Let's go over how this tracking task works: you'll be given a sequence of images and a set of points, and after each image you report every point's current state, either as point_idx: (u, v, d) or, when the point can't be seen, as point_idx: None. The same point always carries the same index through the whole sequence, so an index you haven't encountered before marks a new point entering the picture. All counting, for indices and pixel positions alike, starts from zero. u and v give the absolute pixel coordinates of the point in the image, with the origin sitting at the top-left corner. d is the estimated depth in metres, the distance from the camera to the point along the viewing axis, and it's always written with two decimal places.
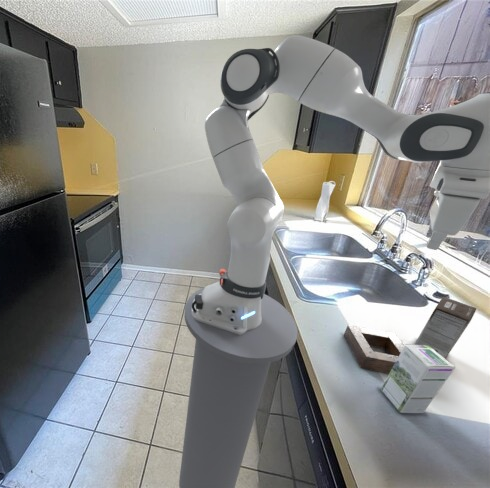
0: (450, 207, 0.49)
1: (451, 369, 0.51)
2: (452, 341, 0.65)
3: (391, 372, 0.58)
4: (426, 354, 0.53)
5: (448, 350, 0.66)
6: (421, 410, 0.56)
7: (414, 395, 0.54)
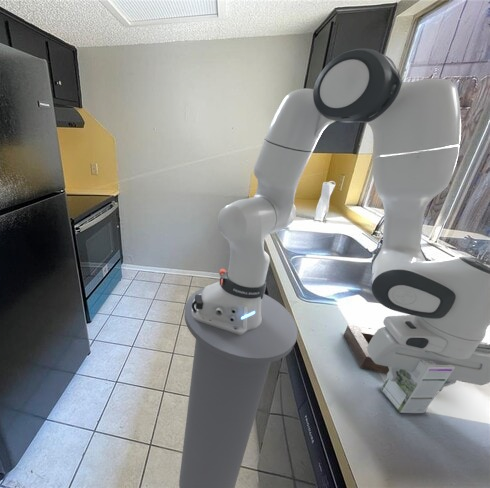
0: (377, 337, 0.55)
1: (451, 369, 0.51)
2: None
3: None
4: None
5: None
6: (421, 410, 0.56)
7: (414, 395, 0.54)
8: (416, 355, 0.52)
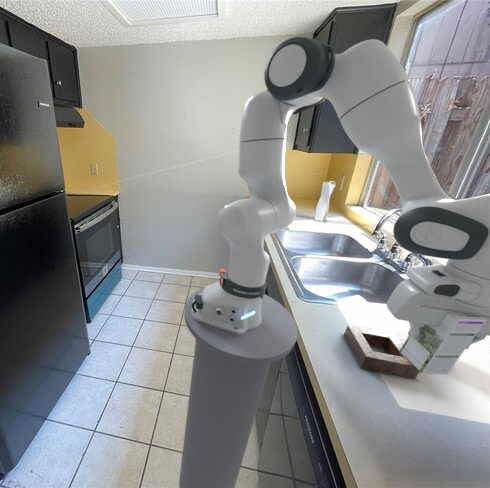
0: (400, 290, 0.50)
1: (483, 322, 0.46)
2: None
3: None
4: None
5: None
6: (445, 371, 0.51)
7: (439, 352, 0.49)
8: (443, 307, 0.47)
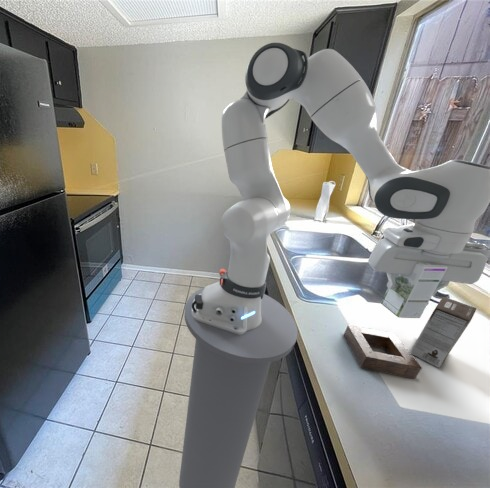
0: (378, 247, 0.61)
1: (444, 269, 0.56)
2: (452, 341, 0.64)
3: None
4: None
5: (448, 350, 0.66)
6: (418, 315, 0.62)
7: (411, 297, 0.59)
8: (412, 258, 0.58)
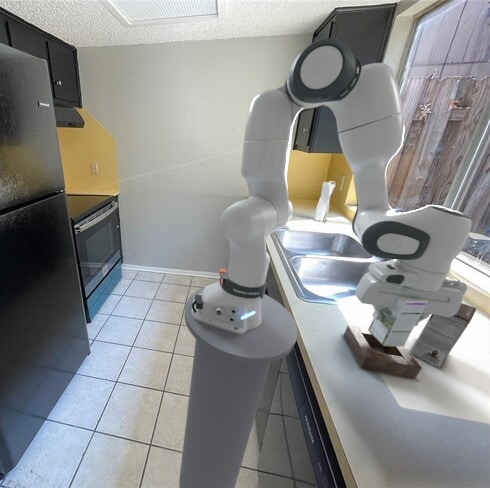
0: (363, 280, 0.65)
1: (425, 303, 0.60)
2: (452, 341, 0.64)
3: None
4: None
5: (448, 350, 0.66)
6: (402, 343, 0.66)
7: (394, 328, 0.64)
8: (395, 292, 0.62)
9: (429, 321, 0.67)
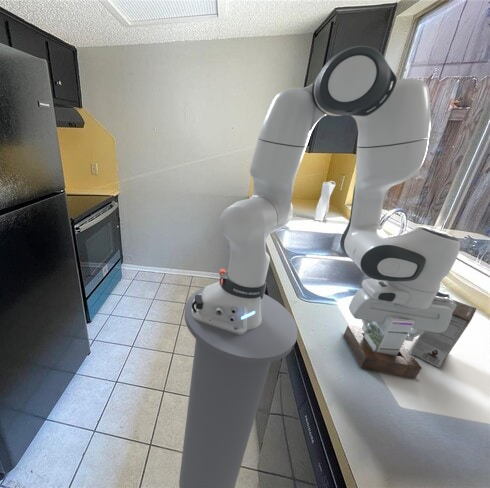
0: (357, 296, 0.67)
1: (412, 323, 0.63)
2: (452, 341, 0.64)
3: None
4: None
5: (448, 350, 0.66)
6: None
7: (382, 346, 0.66)
8: (387, 309, 0.64)
9: None
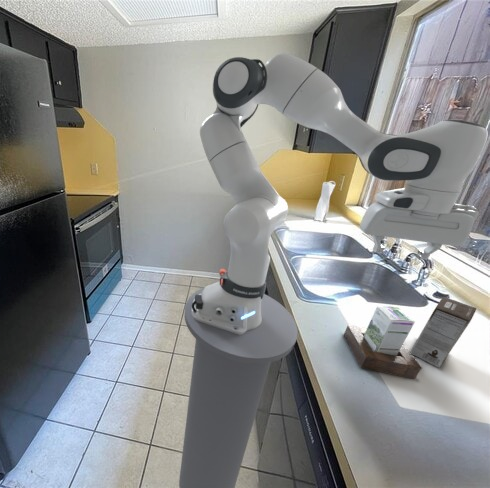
0: (369, 210, 0.62)
1: (411, 323, 0.63)
2: (452, 341, 0.64)
3: (367, 330, 0.71)
4: (392, 312, 0.65)
5: (448, 350, 0.66)
6: None
7: (382, 346, 0.66)
8: (402, 220, 0.59)
9: (429, 321, 0.67)
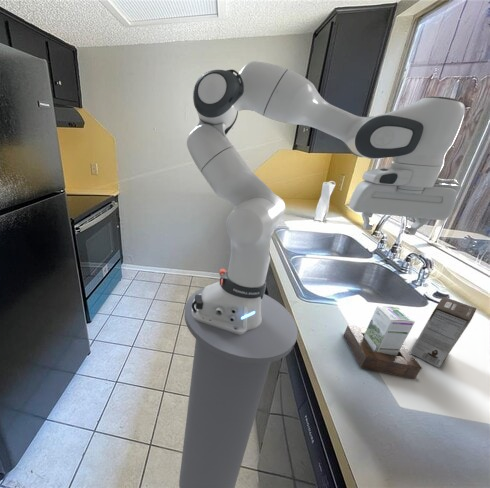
0: (357, 189, 0.64)
1: (411, 323, 0.63)
2: (452, 341, 0.64)
3: (367, 330, 0.71)
4: (392, 312, 0.65)
5: (448, 350, 0.66)
6: None
7: (382, 346, 0.66)
8: (389, 197, 0.61)
9: (429, 321, 0.67)
